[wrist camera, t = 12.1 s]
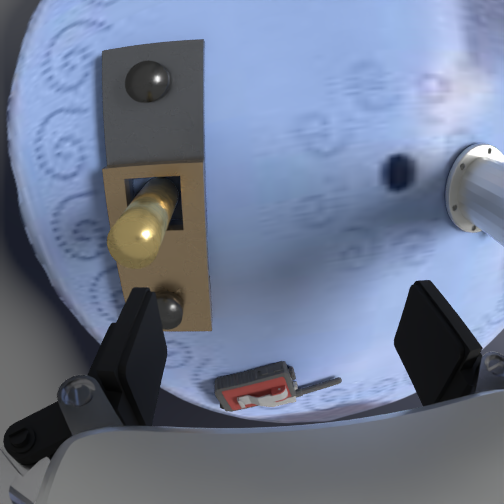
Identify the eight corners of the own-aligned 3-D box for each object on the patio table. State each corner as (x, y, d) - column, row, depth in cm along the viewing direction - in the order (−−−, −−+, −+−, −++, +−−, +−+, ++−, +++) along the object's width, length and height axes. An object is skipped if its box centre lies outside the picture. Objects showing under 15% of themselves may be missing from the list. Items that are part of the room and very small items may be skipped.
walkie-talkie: (225, 407, 51) (340, 377, 50) (226, 428, 47) (347, 397, 46) (205, 377, 47) (333, 342, 46) (205, 400, 43) (341, 364, 42)
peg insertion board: (204, 41, 26) (200, 32, 22) (212, 315, 41) (211, 342, 37) (107, 52, 26) (88, 46, 21) (136, 315, 40) (129, 341, 36)
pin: (185, 187, 33) (166, 235, 23) (169, 218, 35) (146, 277, 24) (151, 170, 32) (117, 210, 21) (136, 203, 34) (100, 254, 23)
